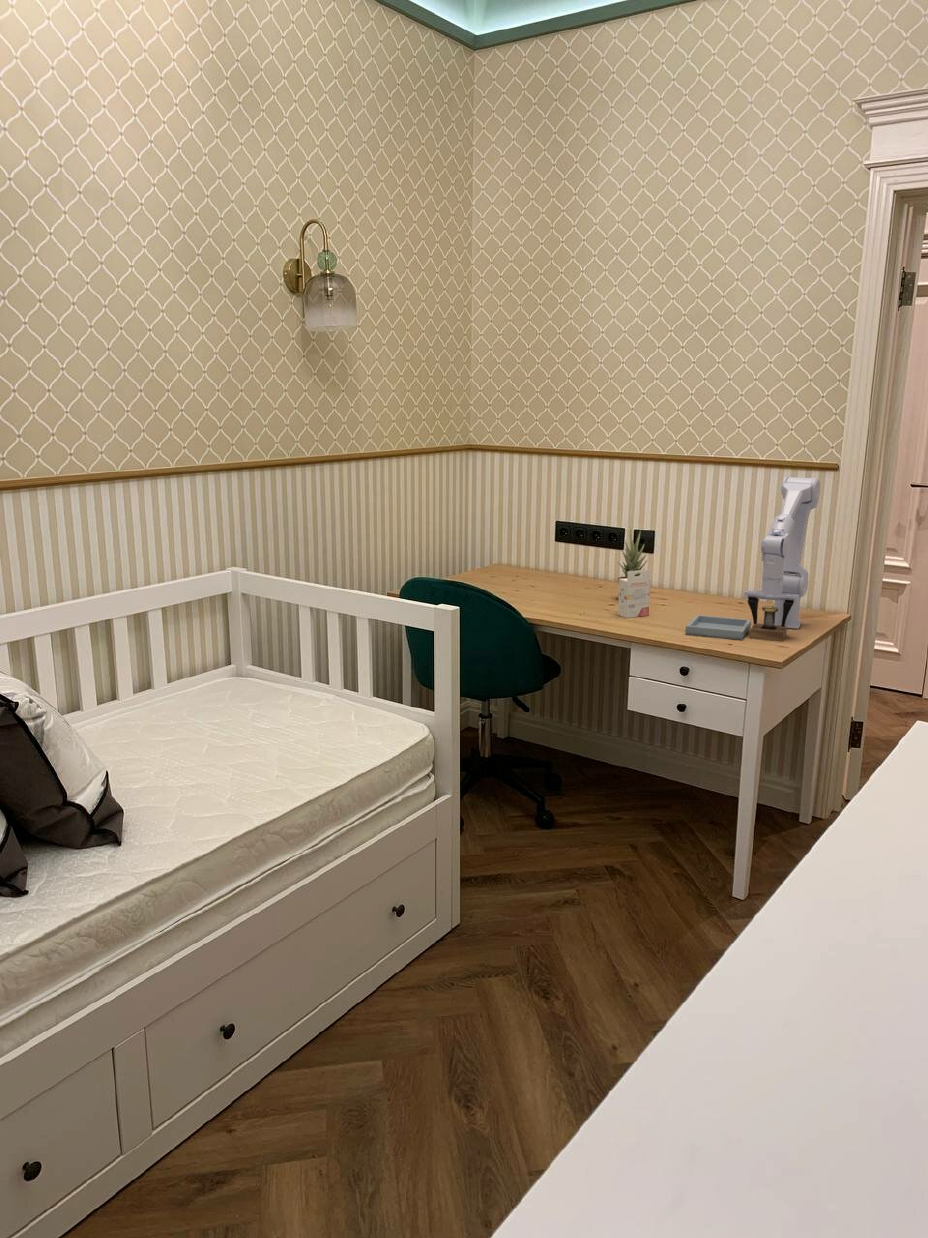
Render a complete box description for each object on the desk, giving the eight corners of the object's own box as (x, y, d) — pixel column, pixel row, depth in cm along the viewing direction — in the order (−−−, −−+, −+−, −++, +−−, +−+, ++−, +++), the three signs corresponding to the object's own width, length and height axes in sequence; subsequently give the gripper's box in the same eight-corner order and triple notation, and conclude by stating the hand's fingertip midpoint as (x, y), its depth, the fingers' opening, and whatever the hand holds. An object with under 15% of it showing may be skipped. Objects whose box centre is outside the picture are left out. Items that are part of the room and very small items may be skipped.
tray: (696, 622, 294) (696, 614, 293) (750, 628, 287) (751, 619, 287) (685, 634, 279) (685, 626, 279) (742, 640, 273) (743, 631, 272)
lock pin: (761, 633, 281) (763, 605, 279) (777, 635, 279) (779, 606, 277) (759, 637, 277) (761, 608, 275) (775, 638, 275) (777, 609, 273)
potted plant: (636, 596, 332) (639, 524, 327) (650, 601, 324) (653, 528, 318) (610, 597, 329) (613, 525, 324) (623, 603, 321) (626, 529, 315)
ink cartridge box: (640, 612, 307) (642, 567, 304) (649, 616, 303) (651, 569, 299) (617, 615, 304) (618, 568, 301) (625, 618, 299) (627, 571, 296)
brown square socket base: (754, 631, 283) (754, 622, 283) (786, 634, 280) (787, 625, 279) (749, 638, 275) (750, 629, 275) (782, 641, 272) (783, 632, 271)
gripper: (744, 578, 273) (740, 625, 276) (798, 582, 267) (794, 630, 270) (747, 574, 279) (744, 619, 283) (800, 577, 274) (796, 624, 277)
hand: (769, 624), depth 277 cm, fingers open, 7 cm apart
